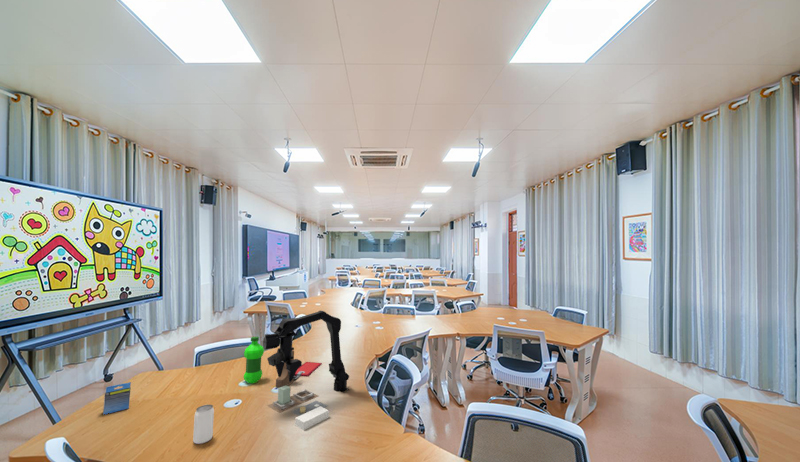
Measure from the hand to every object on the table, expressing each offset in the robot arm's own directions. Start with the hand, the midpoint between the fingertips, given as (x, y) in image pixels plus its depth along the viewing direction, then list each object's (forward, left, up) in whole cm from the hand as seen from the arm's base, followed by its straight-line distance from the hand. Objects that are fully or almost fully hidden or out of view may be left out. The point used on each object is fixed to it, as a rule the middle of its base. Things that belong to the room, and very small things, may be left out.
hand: (284, 379), depth 149 cm
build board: (-6, 0, -13) cm, 14 cm away
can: (+34, -1, -13) cm, 37 cm away
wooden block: (-15, -23, -13) cm, 30 cm away
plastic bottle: (-6, -41, -13) cm, 43 cm away
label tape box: (+50, -58, -13) cm, 78 cm away
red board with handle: (-33, -33, -14) cm, 49 cm away
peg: (0, 0, -12) cm, 12 cm away
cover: (0, +23, -13) cm, 26 cm away
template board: (-6, +13, -13) cm, 19 cm away
